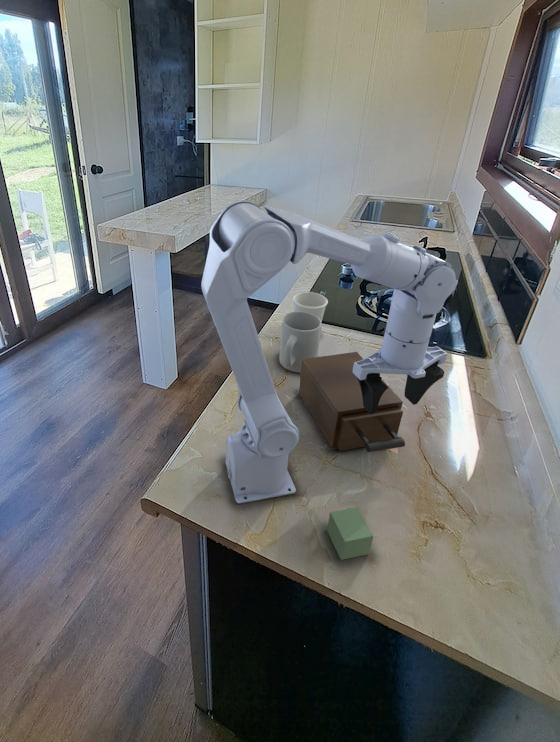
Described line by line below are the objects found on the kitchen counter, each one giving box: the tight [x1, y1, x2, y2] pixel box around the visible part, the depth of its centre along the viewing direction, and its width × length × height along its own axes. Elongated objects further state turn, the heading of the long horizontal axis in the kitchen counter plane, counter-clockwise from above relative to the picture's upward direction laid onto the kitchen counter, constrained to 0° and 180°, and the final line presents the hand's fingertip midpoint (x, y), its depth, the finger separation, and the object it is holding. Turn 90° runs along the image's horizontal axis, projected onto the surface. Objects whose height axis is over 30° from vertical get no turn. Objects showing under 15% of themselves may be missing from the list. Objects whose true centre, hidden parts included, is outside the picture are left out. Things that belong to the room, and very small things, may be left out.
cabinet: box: [298, 351, 404, 450], centre depth 71 cm, size 15×12×9 cm
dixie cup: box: [292, 291, 329, 323], centre depth 97 cm, size 8×8×10 cm
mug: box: [278, 311, 322, 374], centre depth 85 cm, size 12×8×11 cm
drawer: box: [336, 407, 406, 453], centre depth 68 cm, size 18×10×7 cm, turn 10°
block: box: [326, 506, 374, 561], centre depth 51 cm, size 4×4×4 cm
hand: (389, 404), depth 61 cm, fingers open, 7 cm apart
